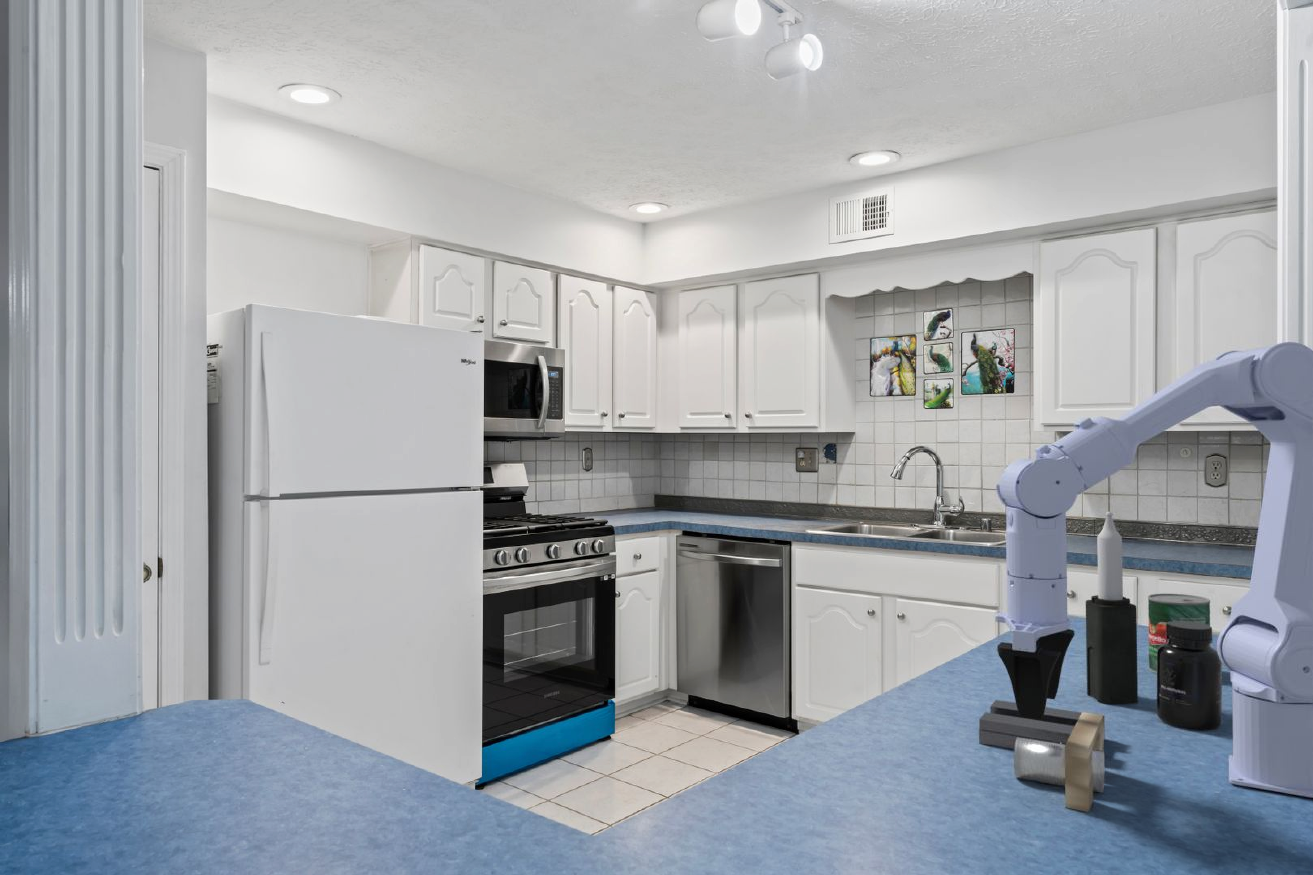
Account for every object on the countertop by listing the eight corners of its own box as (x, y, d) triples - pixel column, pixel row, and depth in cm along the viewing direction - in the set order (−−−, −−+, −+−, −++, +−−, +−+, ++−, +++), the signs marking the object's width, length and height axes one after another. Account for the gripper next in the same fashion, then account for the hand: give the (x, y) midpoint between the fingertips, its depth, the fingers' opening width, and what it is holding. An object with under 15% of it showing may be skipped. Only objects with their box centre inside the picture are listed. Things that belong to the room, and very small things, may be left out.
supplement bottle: (1158, 726, 104) (1156, 627, 104) (1155, 710, 110) (1154, 616, 110) (1226, 735, 101) (1224, 632, 101) (1219, 717, 107) (1218, 621, 107)
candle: (1141, 703, 113) (1138, 513, 113) (1102, 704, 113) (1099, 513, 113) (1121, 692, 118) (1118, 509, 118) (1083, 692, 118) (1080, 510, 118)
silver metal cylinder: (1104, 787, 88) (1104, 746, 88) (1101, 797, 84) (1101, 755, 85) (1020, 772, 92) (1020, 733, 92) (1013, 781, 88) (1013, 741, 89)
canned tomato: (1136, 669, 130) (1135, 596, 130) (1171, 662, 133) (1170, 591, 133) (1188, 682, 122) (1187, 605, 122) (1223, 675, 126) (1222, 599, 126)
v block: (1105, 738, 100) (1104, 715, 100) (1095, 763, 93) (1094, 738, 93) (996, 721, 107) (996, 699, 107) (979, 743, 100) (978, 719, 100)
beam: (1103, 769, 91) (1103, 714, 91) (1088, 811, 81) (1087, 750, 81) (1082, 766, 92) (1082, 711, 92) (1065, 807, 82) (1064, 746, 82)
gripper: (1010, 563, 97) (1011, 683, 97) (979, 582, 85) (980, 719, 85) (1079, 567, 93) (1080, 693, 93) (1057, 588, 81) (1058, 732, 81)
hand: (1038, 706), depth 89 cm, fingers open, 7 cm apart
